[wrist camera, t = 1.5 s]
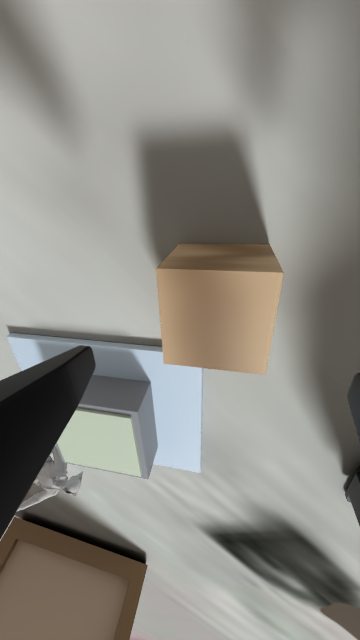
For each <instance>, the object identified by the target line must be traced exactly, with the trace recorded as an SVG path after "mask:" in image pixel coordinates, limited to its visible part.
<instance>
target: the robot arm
mask: <svg viewBox="0 0 360 640" xmlns="http://www.w3.org/2000/svg"><path fill="white" fill-rule="evenodd" d="M95 367H96V363H95V358H94V354H93V350H92V348H91V347H90V346H85V345H79V346H77V347H75V348H72V349H70V350H68V351H66V352H63V353H61V354H59V355H57V356H55V357H52V358H50V359H48V360H46V361H43V362H41V363H39V364H37V365H34V366H32V367H30V368H28V369H25V370H23V371H21V372H19V373H17V374H14V375H12V376H10V377H8V378H5V379H3V380H1V381H0V539H1V537H2V535H3V534H4V532H5V530H6V529H7V527H8V525H9V523H10V522H11V520H12V518H13V517H14V515H15V513H16V511H17V510H18V508H19V506H20V505H21V503H22V501H23V499H24V498H25V496H26V494H27V493H28V491H29V489H30V488H31V486H32V484H33V482H34V481H35V479H36V477H37V476H38V474H39V472H40V470H41V469H42V467H43V465H44V464H45V462H46V460H47V458H48V457H49V455H50V453H51V452H52V450H53V448H54V446H55V445H56V443H57V441H58V440H59V438H60V436H61V434H62V433H63V431H64V429H65V428H66V426H67V424H68V423H69V421H70V419H71V417H72V416H73V414H74V412H75V411H76V409H77V407H78V405H79V403H80V401H81V399H82V397H83V395H84V393H85V390H86V388H87V386H88V384H89V382H90V379H91V377H92V375H93V373H94V371H95ZM348 401H349V405H350V409H351V412H352V416H353V420H354V424H355V427H356V431H357V435H358V438H359V442H360V373H357V374H356V375H355V376H354V378H353V381H352V383H351V386H350V388H349V391H348ZM345 496H346V499H347V501H349V502H351V503H352V506H353V508H354V511H355V514H356V517H357V520H358V522H359V525H360V467H359V468H358V470H357V472H356V474H355V476H354V478H353V480H352V481H351V483H350V485H349V487H348V489H347V491H346V493H345Z"/></svg>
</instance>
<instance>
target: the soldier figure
mask: <svg viewBox="0 0 360 640" xmlns="http://www.w3.org/2000/svg"><path fill="white" fill-rule="evenodd" d="M52 452H53V456H54V461H52V458H51V457H50V456H49V457H48V458H47V460H46V462H45V464H44V465H43V467H42V469H41V470H40V472H39V474H38V476H37V477H36V479H35V481H34V482H33V484H35V485H37V486H40V487H42V488H43V489H44V490H43V491H41V492H39V493H36V494H34V495H33V496H31V497H30V498H28V499H27V500H25V501H24V502H22V504H21V505H20V506H19V508H18V510H17V511H19V510H21V509H22V510H23V509H25V508H28V507H30V506H32V505H34V504H37V503H39V502H41V501H43V500H44V499H47V498H49V497H51V496H54V495H57V493H58V492H59V490H61V491H63V492H64V493H65V494H72V495H73V496H76V494H77V492H78V489H79V487H80V485H81V479H82V473H83V472H81V473H80V474H78V475H76V476H72V477H71V478H70V479H69V480H68V481H67V479H68V477H67V475H66V474H67V471H66V469H67V463H64V462H62V459H61V457H60V455H59V452H58V450H57V447H56V446H54V448H53V450H52ZM62 487H63V488H62ZM17 511H16V512H17Z"/></svg>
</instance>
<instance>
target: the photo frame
mask: <svg viewBox="0 0 360 640" xmlns="http://www.w3.org/2000/svg"><path fill="white" fill-rule="evenodd" d="M146 569H147V565H146V564H144V563H141V562H138V561H135V560H133V559H130V558H127V557H124V556H121V555H119V554H116V553H113V552H110V551H108V550H105V549H102V548H99V547H97V546H94V545H91V544H88V543H86V542H83V541H80V540H77V539H74V538H72V537H69V536H66V535H63V534H61V533H58V532H55V531H52V530H50V529H47V528H44V527H41V526H39V525H36V524H33V523H30V522H28V521H25V520H22V519H19V518H16V517H14V519H13V520H12V522H11V524H10V526H9V527H8V529H7V531H6V533H5V534H4V536H3V538H2V539H1V541H0V640H129V639H130V635H131V630H132V626H133V622H134V618H135V614H136V610H137V606H138V602H139V598H140V594H141V590H142V586H143V582H144V578H145V573H146Z"/></svg>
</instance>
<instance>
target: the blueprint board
mask: <svg viewBox="0 0 360 640" xmlns="http://www.w3.org/2000/svg"><path fill="white" fill-rule="evenodd" d="M7 339H8V341H9V344H10V346H11V348H12V351H13V353H14V355H15V358H16V360H17V362H18V364H19V367H20V369H21V371H23V370H25V369H28V368H30V367H32V366H34V365H37V364H39V363H41V362H43V361H46V360H48V359H50V358H52V357H55V356H57V355H59V354H61V353H63V352H66V351H68V350H70V349H72V348H75V347H77V346H79V345H85V346H90V347H91V348H92V350H93V354H94V358H95V363H96V367H95V371H94V373H93V375H99V376H107V377H115V378H124V379H132V380H140V381H148V382H151V388H152V397H153V406H154V415H155V423H156V432H157V441H158V448H157V452H156V455H155V458H154V462H153V464H155V465H161V466H166V467H171V468H177V469H182V470H188V471H193V472H198V473H200V471H201V441H202V390H203V368H198V367H189V366H180V365H170V364H164V362H163V349H162V347H157V346H146V345H136V344H125V343H114V342H103V341H93V340H82V339H71V338H61V337H50V336H39V335H29V334H18V333H11V334H10V335H8V336H7ZM55 446H56V445H55Z"/></svg>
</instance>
